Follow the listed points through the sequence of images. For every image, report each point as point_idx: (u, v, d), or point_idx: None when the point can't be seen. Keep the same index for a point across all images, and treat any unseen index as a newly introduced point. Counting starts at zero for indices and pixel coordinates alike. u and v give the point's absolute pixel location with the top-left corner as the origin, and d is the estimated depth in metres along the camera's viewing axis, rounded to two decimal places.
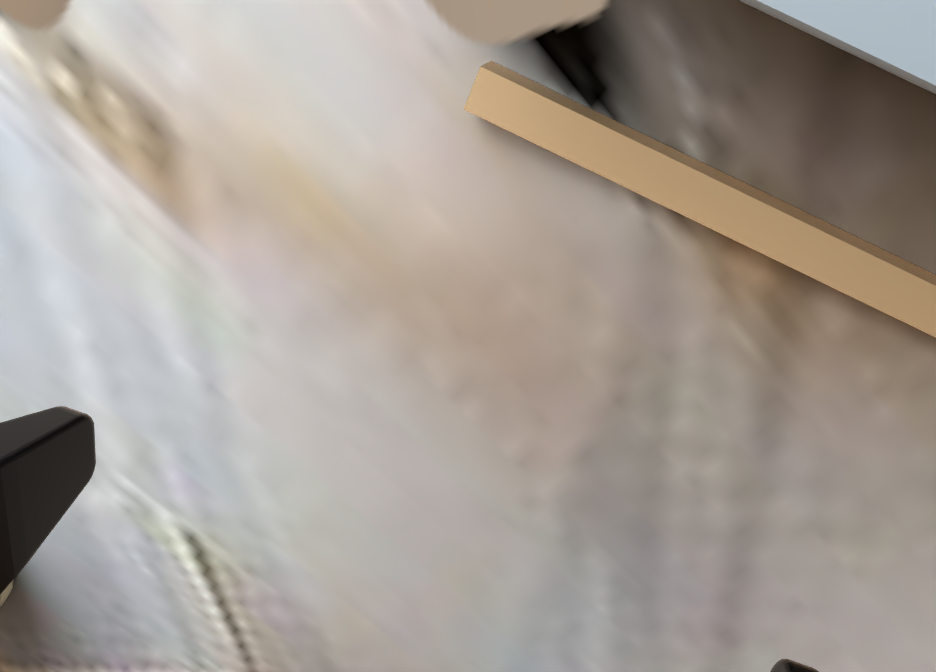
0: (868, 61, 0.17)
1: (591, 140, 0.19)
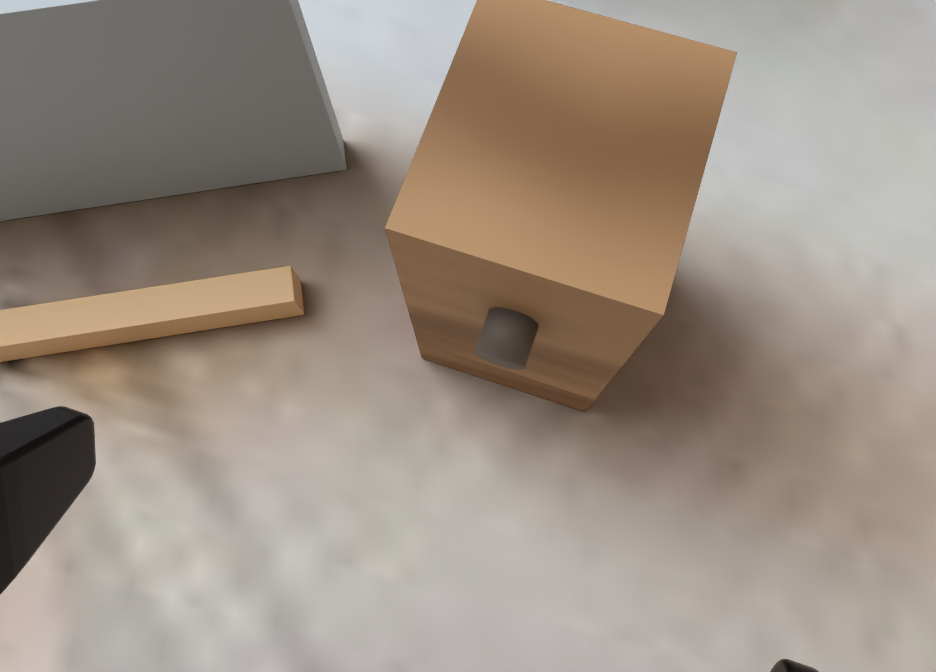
0: (48, 190, 0.24)
1: None
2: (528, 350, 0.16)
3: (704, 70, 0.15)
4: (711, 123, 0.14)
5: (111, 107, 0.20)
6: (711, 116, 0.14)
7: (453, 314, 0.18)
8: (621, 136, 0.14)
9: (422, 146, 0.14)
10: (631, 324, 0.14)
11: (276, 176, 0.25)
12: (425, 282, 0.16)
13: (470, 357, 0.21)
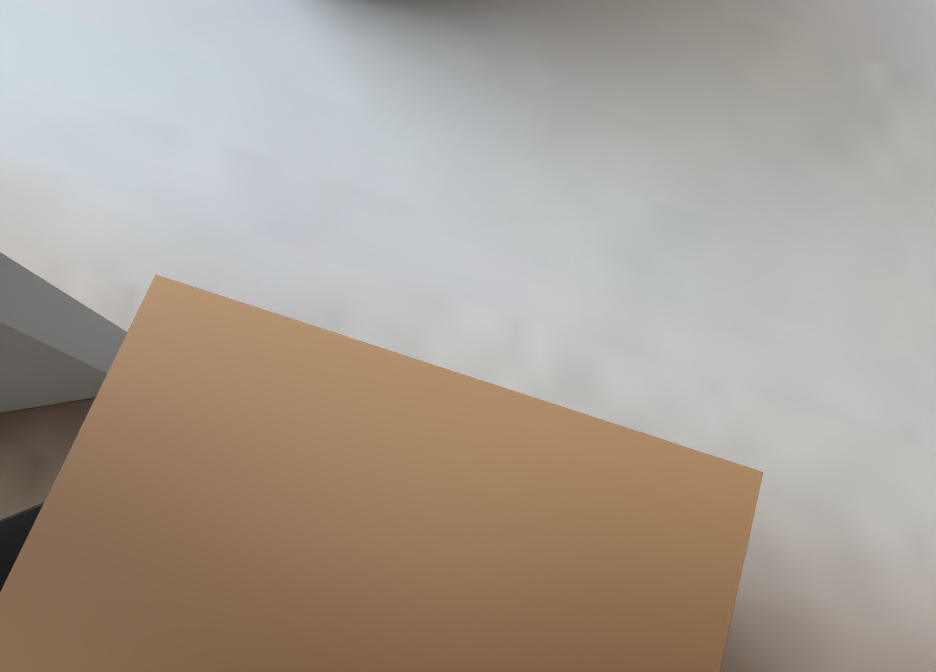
0: None
1: None
2: None
3: (681, 527, 0.06)
4: None
5: None
6: (699, 671, 0.06)
7: None
8: None
9: None
10: None
11: (27, 405, 0.16)
12: None
13: None
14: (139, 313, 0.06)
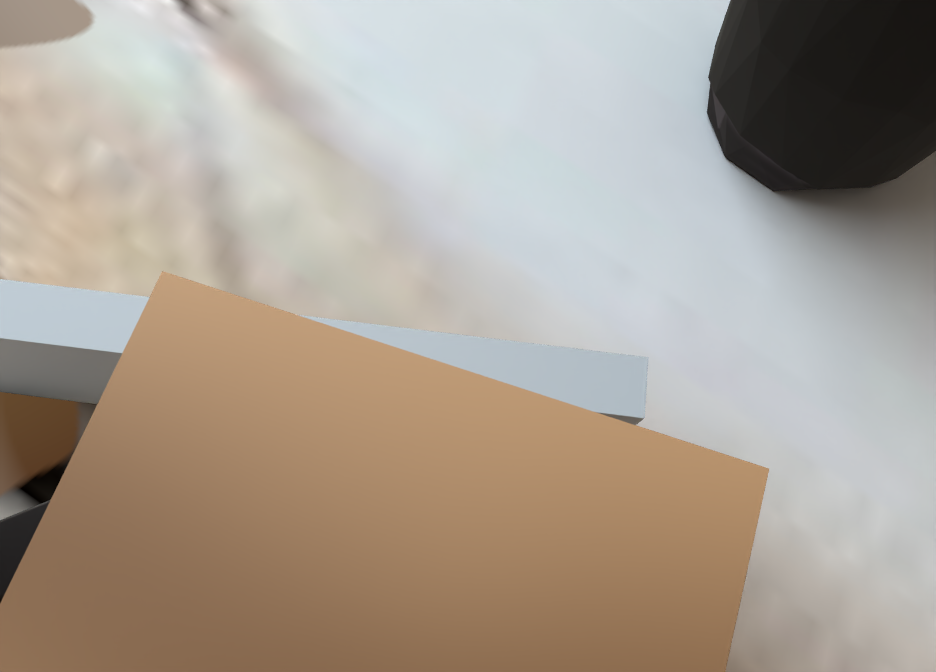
0: None
1: None
2: None
3: (687, 523, 0.06)
4: None
5: None
6: (705, 667, 0.06)
7: None
8: None
9: None
10: None
11: None
12: None
13: None
14: (145, 310, 0.06)
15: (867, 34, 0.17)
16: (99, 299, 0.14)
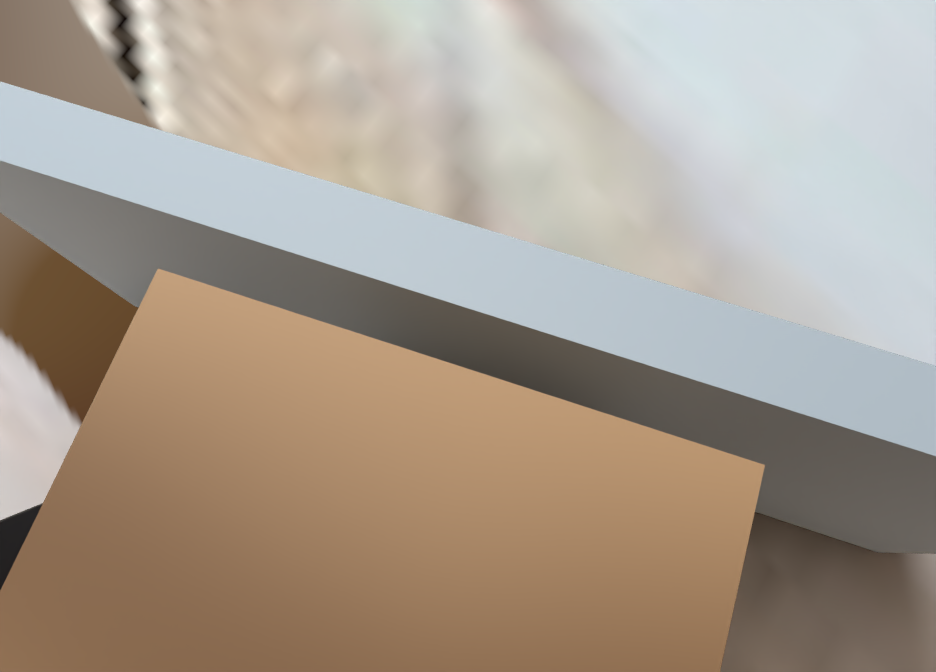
0: None
1: None
2: None
3: (683, 519, 0.06)
4: None
5: None
6: (701, 663, 0.06)
7: None
8: None
9: None
10: None
11: (783, 519, 0.18)
12: None
13: None
14: (140, 307, 0.06)
15: None
16: (453, 231, 0.10)
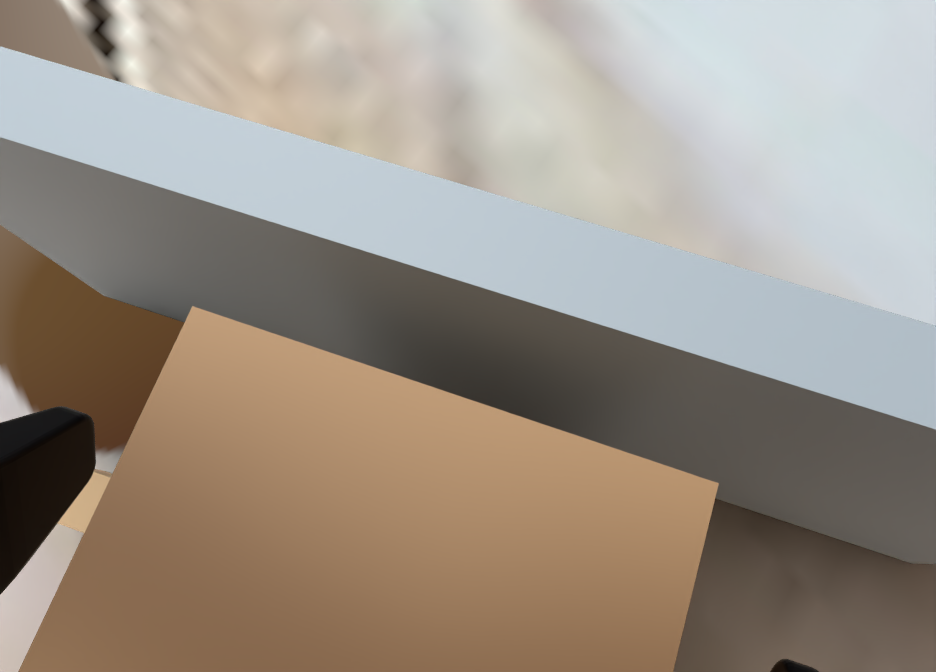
0: None
1: None
2: None
3: (646, 530, 0.07)
4: None
5: (738, 450, 0.12)
6: (659, 654, 0.06)
7: None
8: None
9: None
10: None
11: (808, 527, 0.16)
12: None
13: None
14: (178, 340, 0.07)
15: None
16: (446, 193, 0.09)
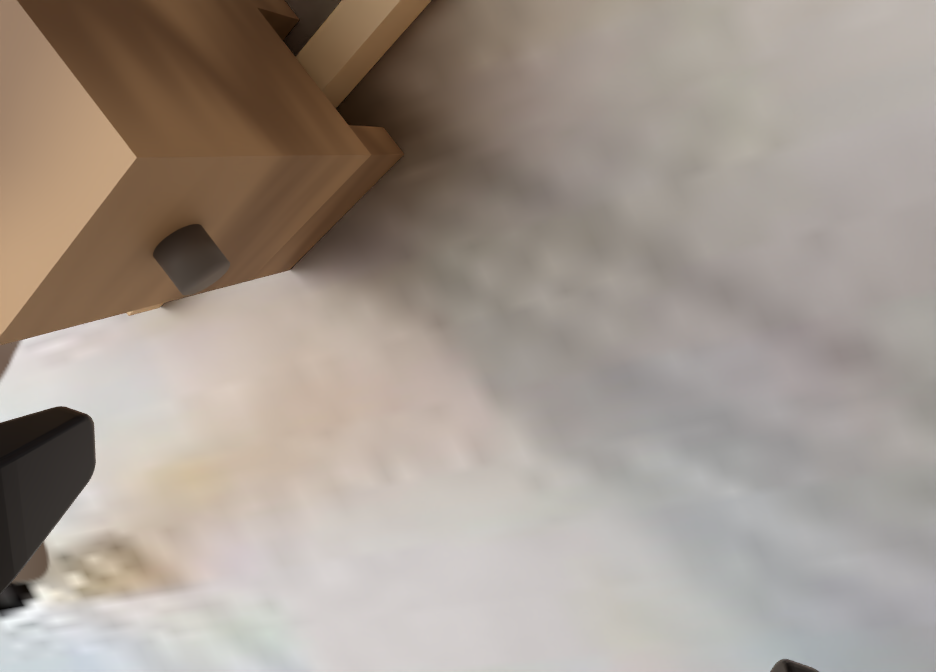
0: None
1: None
2: (203, 251, 0.15)
3: None
4: None
5: None
6: None
7: None
8: None
9: None
10: (166, 172, 0.13)
11: None
12: (108, 303, 0.16)
13: (280, 246, 0.20)
14: None
15: None
16: None
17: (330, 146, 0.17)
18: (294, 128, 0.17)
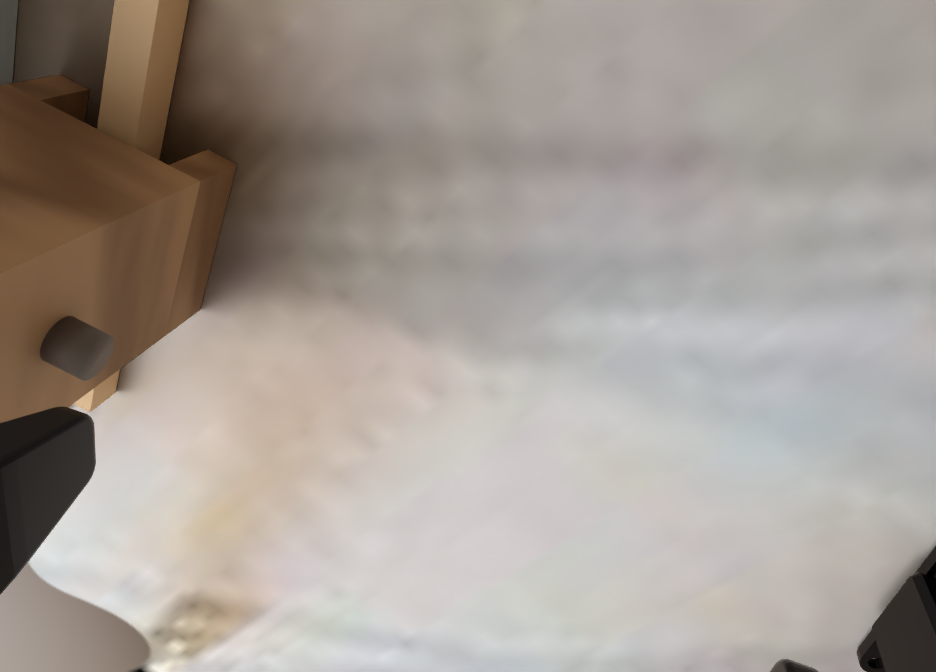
0: None
1: None
2: (80, 337, 0.17)
3: None
4: None
5: None
6: None
7: None
8: None
9: None
10: None
11: None
12: None
13: (170, 295, 0.22)
14: None
15: None
16: None
17: (153, 193, 0.18)
18: (110, 195, 0.18)
